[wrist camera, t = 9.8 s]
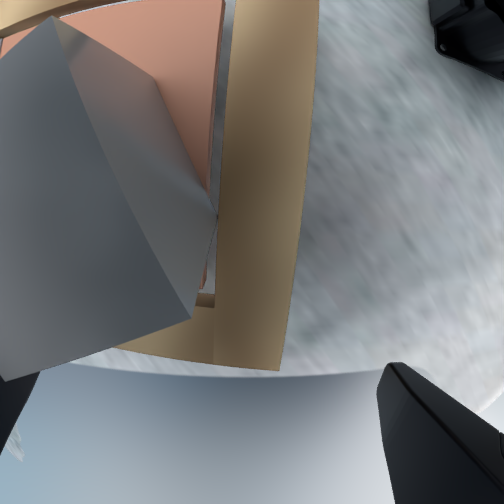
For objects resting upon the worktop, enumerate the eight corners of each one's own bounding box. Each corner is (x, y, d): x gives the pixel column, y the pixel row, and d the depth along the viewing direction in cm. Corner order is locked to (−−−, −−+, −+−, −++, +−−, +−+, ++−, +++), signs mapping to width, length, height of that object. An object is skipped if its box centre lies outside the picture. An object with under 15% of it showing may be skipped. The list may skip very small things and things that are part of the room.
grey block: (152, 77, 8) (51, 14, 3) (217, 216, 10) (191, 318, 4) (35, 153, 9) (-95, 185, 3) (95, 274, 11) (5, 381, 5)
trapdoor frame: (300, 18, 15) (320, -66, 6) (276, 275, 20) (279, 371, 12) (62, 35, 15) (-27, 6, 7) (57, 252, 20) (-25, 307, 12)
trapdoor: (225, 5, 8) (222, -7, 7) (206, 278, 12) (201, 290, 11) (1, 47, 8) (-12, 44, 8) (0, 253, 12) (-12, 261, 11)
